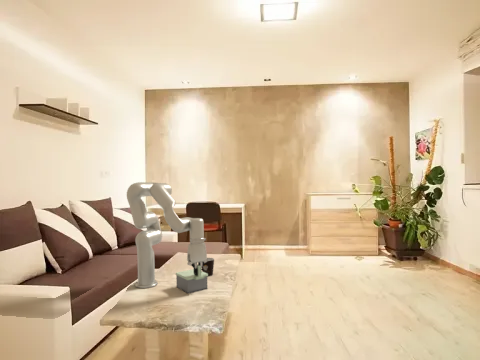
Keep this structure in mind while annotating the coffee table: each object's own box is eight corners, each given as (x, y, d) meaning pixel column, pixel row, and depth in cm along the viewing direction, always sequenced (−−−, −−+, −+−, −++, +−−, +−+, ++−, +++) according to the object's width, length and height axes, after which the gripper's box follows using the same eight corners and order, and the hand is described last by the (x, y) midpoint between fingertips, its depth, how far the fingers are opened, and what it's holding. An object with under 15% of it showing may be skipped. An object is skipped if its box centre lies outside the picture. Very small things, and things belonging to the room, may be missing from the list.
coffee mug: (217, 274, 211) (217, 259, 211) (207, 277, 204) (206, 261, 204) (205, 271, 219) (205, 256, 219) (195, 274, 212) (194, 258, 212)
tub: (176, 287, 187) (176, 274, 187) (195, 282, 194) (195, 271, 194) (188, 293, 176) (187, 280, 176) (207, 288, 183) (207, 276, 183)
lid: (175, 276, 187) (175, 262, 187) (195, 272, 195) (195, 259, 195) (189, 283, 173) (189, 268, 174) (210, 278, 181) (209, 264, 181)
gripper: (205, 238, 187) (206, 270, 187) (181, 241, 178) (181, 275, 178) (212, 240, 181) (213, 273, 181) (187, 243, 172) (188, 279, 172)
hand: (197, 274), depth 179 cm, fingers closed on lid, 1 cm apart
